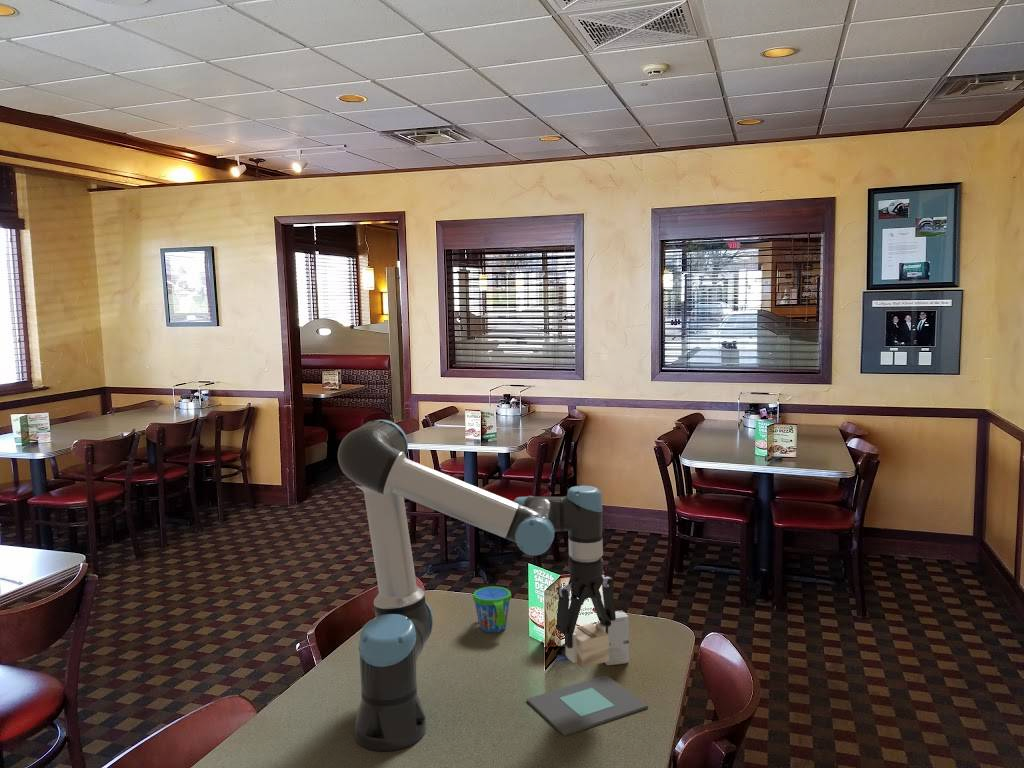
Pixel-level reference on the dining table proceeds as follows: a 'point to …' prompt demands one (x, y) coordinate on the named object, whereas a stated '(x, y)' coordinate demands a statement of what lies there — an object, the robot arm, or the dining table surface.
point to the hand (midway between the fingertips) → (586, 656)
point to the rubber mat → (586, 704)
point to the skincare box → (619, 639)
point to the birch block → (591, 645)
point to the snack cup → (492, 608)
